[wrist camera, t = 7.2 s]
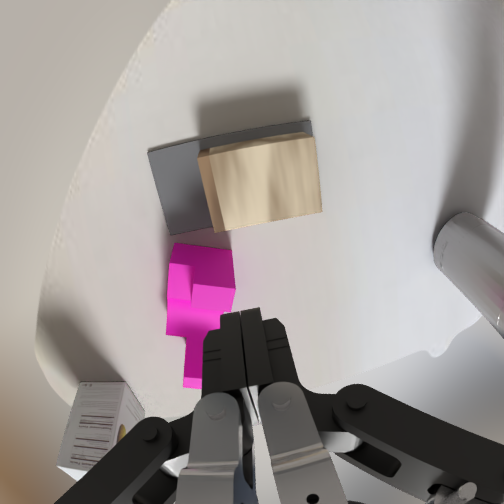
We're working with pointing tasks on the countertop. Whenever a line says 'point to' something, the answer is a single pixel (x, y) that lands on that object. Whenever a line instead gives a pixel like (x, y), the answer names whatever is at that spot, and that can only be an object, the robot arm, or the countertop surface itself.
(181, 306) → the toy block
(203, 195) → the mat
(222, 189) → the ash block
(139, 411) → the supplement box
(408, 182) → the countertop surface
